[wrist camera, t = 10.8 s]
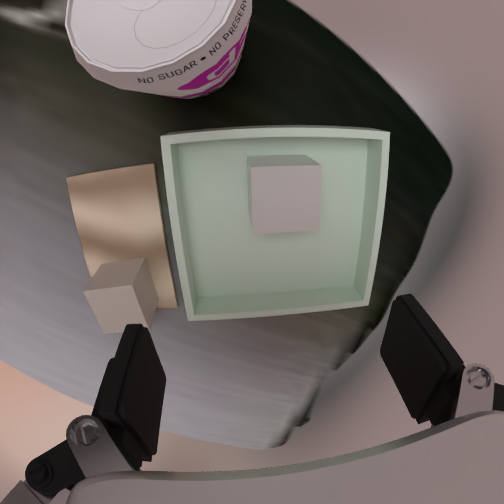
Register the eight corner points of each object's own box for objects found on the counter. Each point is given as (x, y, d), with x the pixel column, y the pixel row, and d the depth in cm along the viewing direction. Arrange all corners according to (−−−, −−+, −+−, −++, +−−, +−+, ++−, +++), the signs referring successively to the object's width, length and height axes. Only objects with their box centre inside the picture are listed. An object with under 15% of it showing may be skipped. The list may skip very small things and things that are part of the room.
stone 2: (246, 156, 25) (250, 167, 20) (304, 154, 25) (321, 165, 20) (248, 211, 27) (253, 234, 22) (304, 209, 27) (319, 230, 23)
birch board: (68, 176, 24) (66, 177, 24) (155, 162, 25) (153, 163, 24) (103, 306, 31) (101, 309, 31) (178, 304, 32) (177, 307, 31)
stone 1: (101, 263, 28) (83, 291, 24) (145, 256, 28) (131, 285, 24) (117, 303, 30) (103, 333, 26) (159, 299, 30) (149, 330, 26)
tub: (169, 132, 24) (160, 136, 21) (371, 128, 25) (389, 132, 21) (191, 300, 31) (188, 321, 28) (356, 286, 32) (368, 305, 29)
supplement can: (260, 46, 21) (300, -23, 8) (196, 117, 23) (154, 129, 10) (187, -3, 18) (149, -98, 5) (125, 67, 21) (22, 39, 7)
